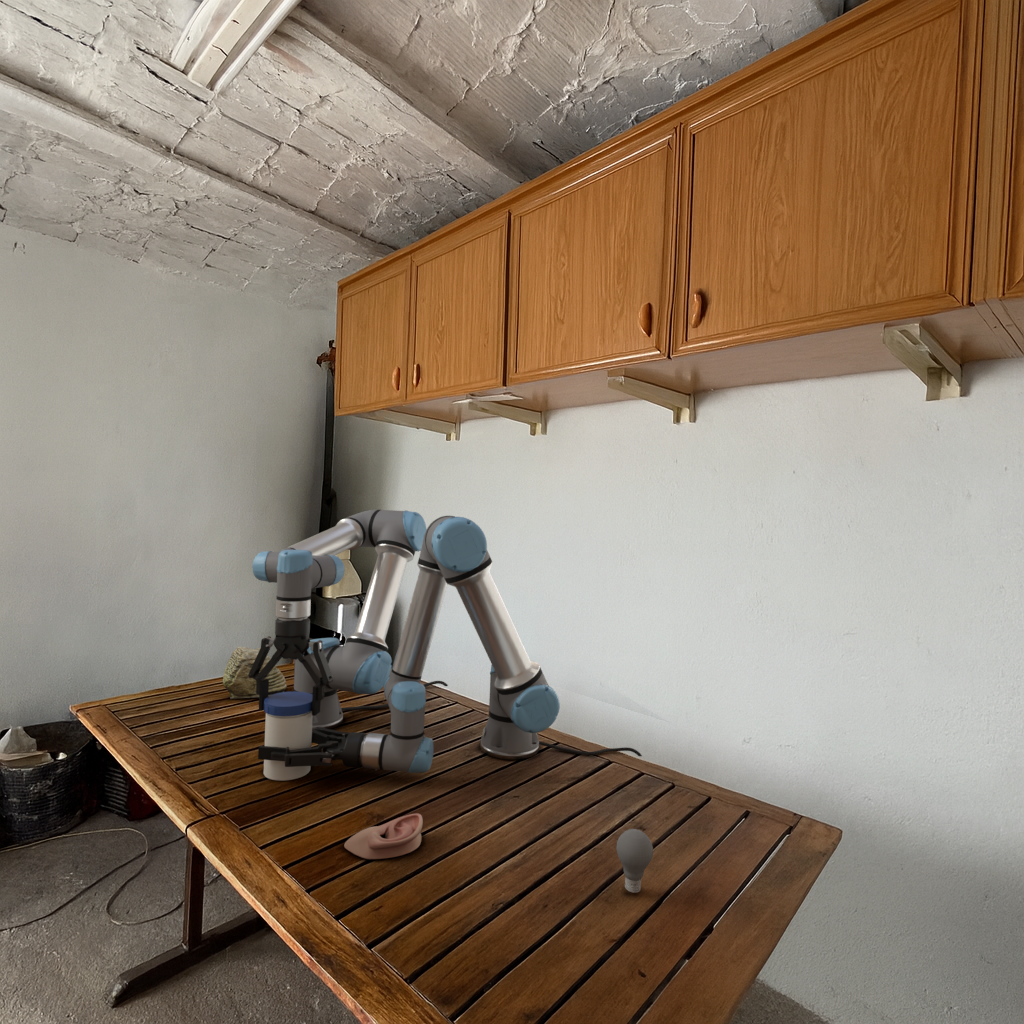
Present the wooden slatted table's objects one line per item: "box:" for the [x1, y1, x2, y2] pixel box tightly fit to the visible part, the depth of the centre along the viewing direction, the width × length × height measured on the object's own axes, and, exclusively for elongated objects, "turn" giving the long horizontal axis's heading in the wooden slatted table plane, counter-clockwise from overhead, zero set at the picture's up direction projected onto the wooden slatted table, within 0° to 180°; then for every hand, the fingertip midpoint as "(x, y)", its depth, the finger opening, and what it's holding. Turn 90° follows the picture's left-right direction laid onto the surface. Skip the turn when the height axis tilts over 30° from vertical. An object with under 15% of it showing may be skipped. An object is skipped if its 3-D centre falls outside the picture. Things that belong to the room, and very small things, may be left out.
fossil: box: [222, 646, 288, 699], centre depth 198 cm, size 9×18×15 cm, turn 132°
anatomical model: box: [343, 813, 424, 860], centre depth 117 cm, size 13×4×12 cm
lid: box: [263, 690, 313, 716], centre depth 145 cm, size 11×11×2 cm
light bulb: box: [615, 828, 654, 894], centre depth 106 cm, size 6×6×10 cm
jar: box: [263, 711, 312, 782], centre depth 145 cm, size 10×10×16 cm
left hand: (289, 711), depth 145 cm, fingers open, 12 cm apart
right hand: (270, 743), depth 146 cm, fingers closed on jar, 10 cm apart
